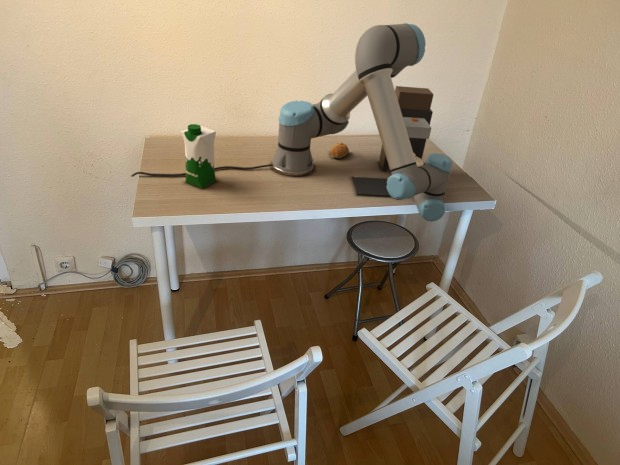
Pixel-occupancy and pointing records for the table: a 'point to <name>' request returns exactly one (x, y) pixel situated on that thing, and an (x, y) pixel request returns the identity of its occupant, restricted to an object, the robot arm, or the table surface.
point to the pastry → (339, 150)
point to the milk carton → (199, 155)
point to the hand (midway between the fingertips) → (406, 160)
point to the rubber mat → (371, 186)
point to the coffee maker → (413, 118)
